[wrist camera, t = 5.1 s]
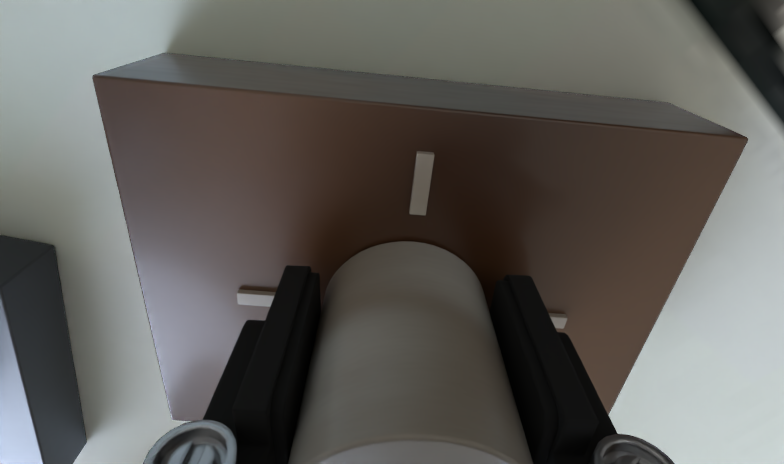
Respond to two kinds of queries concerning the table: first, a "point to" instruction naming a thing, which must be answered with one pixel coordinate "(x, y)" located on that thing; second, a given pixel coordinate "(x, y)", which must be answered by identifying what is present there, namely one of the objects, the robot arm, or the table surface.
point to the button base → (35, 360)
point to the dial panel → (398, 197)
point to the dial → (407, 367)
